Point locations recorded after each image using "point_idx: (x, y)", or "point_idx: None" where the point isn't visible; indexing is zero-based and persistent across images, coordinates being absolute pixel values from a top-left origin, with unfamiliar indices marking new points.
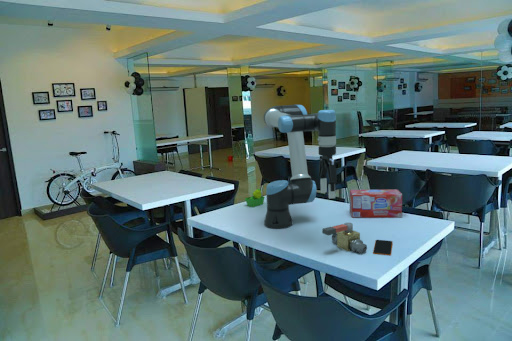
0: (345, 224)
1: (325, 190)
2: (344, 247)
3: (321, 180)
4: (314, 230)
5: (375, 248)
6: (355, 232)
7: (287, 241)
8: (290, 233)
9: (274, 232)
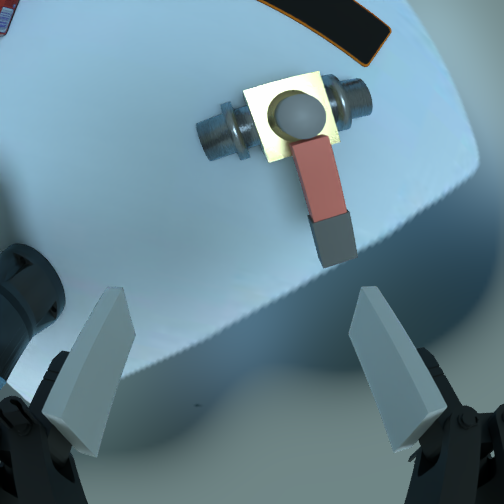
0: (307, 136)
1: (119, 312)
2: None
3: (99, 438)
4: (77, 186)
5: (331, 36)
6: (305, 85)
7: (169, 298)
8: (99, 272)
9: (91, 310)
